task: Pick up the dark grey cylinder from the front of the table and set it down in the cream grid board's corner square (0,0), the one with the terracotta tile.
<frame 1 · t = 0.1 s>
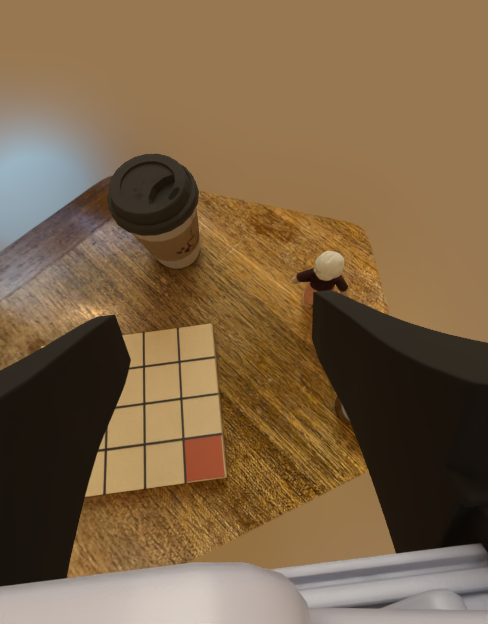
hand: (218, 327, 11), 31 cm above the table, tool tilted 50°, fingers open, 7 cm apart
dark grey cylinder: (351, 407, 39), on the table
grandmother figurine: (311, 301, 45), on the table
board: (130, 406, 40), on the table
coffee cup: (179, 251, 49), on the table
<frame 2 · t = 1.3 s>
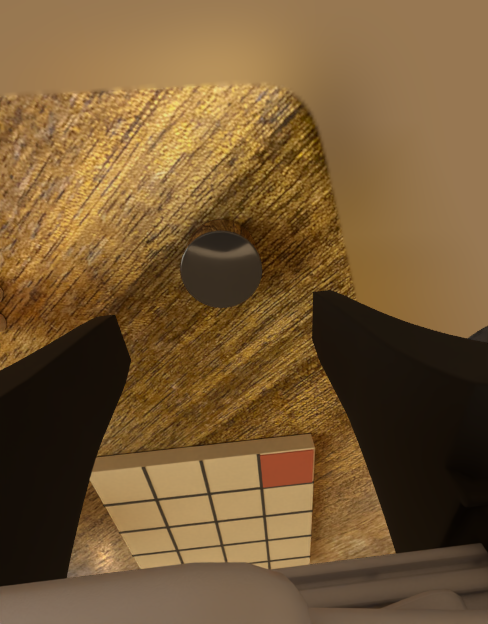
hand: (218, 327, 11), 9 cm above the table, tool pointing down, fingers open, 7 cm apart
dark grey cylinder: (222, 255, 18), on the table
board: (219, 518, 32), on the table
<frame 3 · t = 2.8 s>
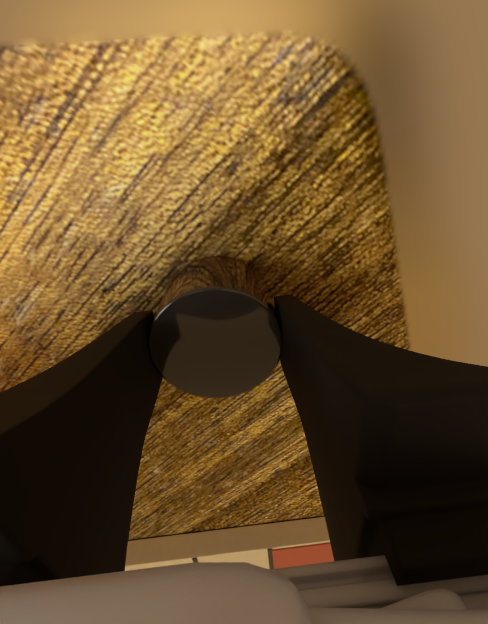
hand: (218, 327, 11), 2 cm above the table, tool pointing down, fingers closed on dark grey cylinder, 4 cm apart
dark grey cylinder: (218, 307, 12), on the table, touching gripper
board: (219, 601, 26), on the table
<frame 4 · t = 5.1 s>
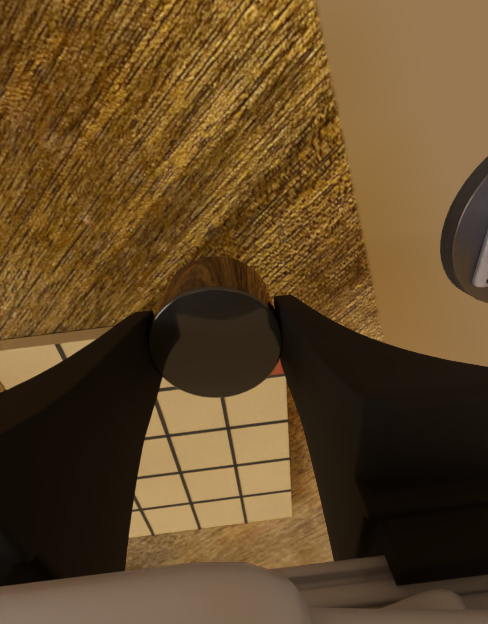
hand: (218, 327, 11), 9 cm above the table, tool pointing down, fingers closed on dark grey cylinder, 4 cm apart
dark grey cylinder: (217, 306, 12), point 7 cm above the table, touching gripper
board: (176, 439, 26), on the table
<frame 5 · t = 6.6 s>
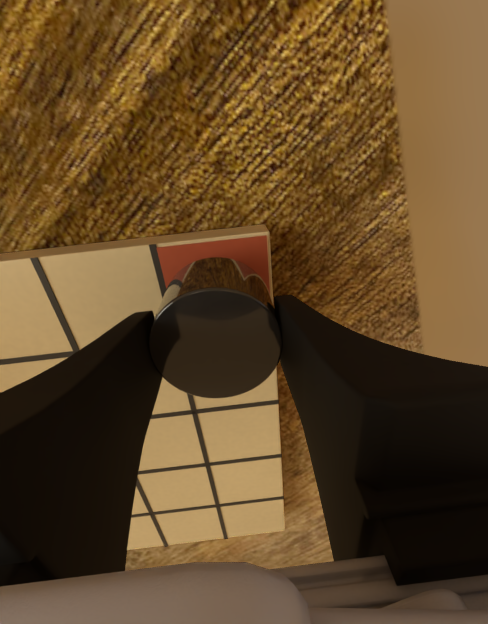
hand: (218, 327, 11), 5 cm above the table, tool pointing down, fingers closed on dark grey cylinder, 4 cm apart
dark grey cylinder: (218, 307, 12), point 3 cm above the table, touching gripper
board: (128, 429, 20), on the table
when the fingers open (3 cm above the table, at t = 7.5 s): dark grey cylinder stays where it is, resting on board.
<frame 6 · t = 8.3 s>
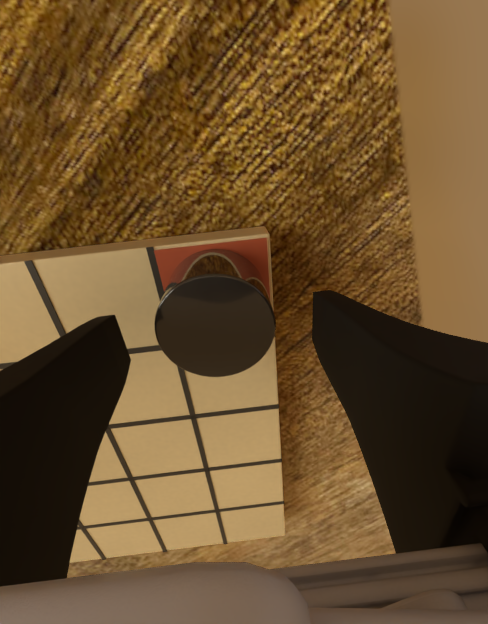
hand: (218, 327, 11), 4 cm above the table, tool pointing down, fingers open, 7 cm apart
dark grey cylinder: (217, 296, 13), point 2 cm above the table, touching board
board: (126, 433, 19), on the table
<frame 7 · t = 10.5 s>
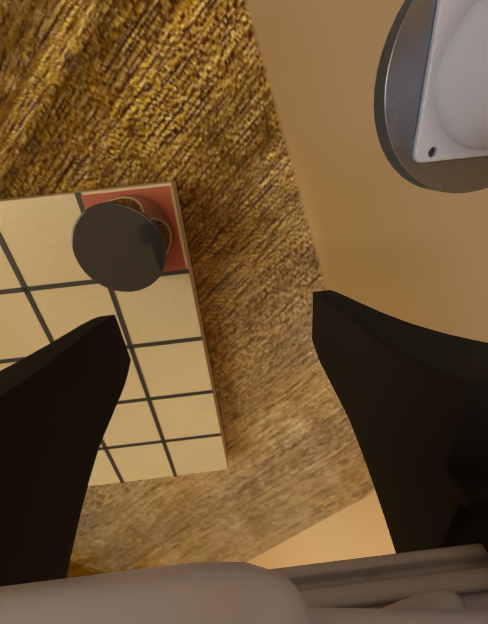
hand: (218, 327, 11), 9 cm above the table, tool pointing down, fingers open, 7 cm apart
dark grey cylinder: (136, 235, 17), point 2 cm above the table, touching board
board: (81, 368, 23), on the table
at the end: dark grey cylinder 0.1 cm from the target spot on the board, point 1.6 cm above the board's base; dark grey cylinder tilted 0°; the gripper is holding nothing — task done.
